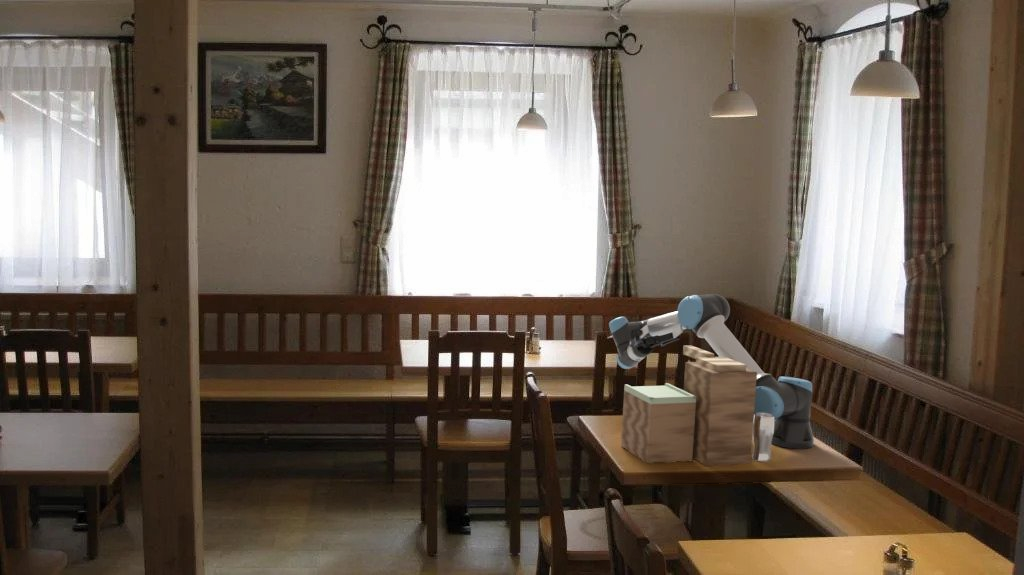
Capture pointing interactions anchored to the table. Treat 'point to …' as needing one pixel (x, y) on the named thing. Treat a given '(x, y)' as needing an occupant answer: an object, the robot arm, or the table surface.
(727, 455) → the tall crate
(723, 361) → the cream cross-shaped block
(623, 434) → the wooden box
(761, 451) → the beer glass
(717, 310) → the robot arm
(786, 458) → the table surface
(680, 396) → the tray
